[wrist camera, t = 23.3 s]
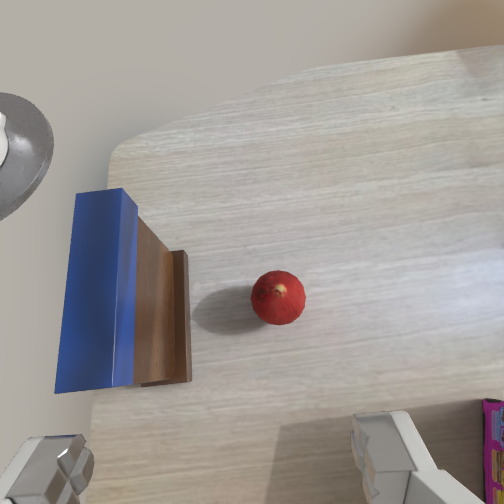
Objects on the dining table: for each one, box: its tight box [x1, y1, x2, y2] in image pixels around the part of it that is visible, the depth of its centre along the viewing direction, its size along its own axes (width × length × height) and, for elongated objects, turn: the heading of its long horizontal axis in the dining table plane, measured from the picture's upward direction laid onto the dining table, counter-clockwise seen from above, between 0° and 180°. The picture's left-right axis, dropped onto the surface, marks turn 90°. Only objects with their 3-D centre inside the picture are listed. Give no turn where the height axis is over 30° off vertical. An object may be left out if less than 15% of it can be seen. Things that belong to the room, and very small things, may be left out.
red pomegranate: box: [251, 270, 306, 325], centre depth 33 cm, size 6×6×8 cm
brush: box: [54, 188, 192, 394], centre depth 29 cm, size 5×15×17 cm, turn 6°
